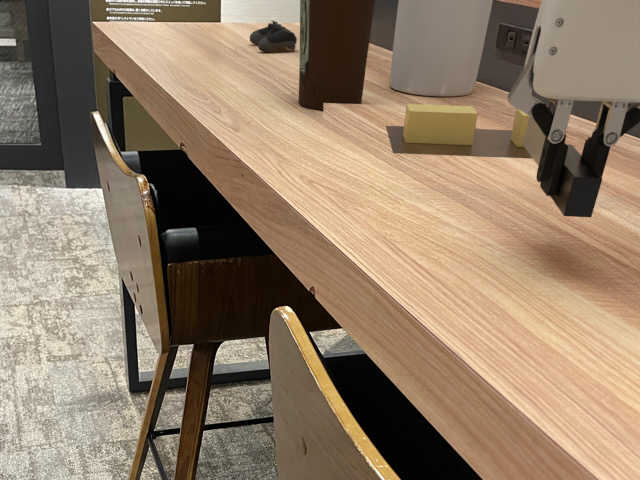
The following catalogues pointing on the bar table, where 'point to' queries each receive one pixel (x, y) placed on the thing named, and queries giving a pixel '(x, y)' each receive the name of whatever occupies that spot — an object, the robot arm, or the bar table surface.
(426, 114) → the butter block
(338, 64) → the olive oil
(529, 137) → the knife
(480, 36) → the utensil holder
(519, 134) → the butter slice
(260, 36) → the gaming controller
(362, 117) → the bar table surface
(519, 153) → the cutting board
